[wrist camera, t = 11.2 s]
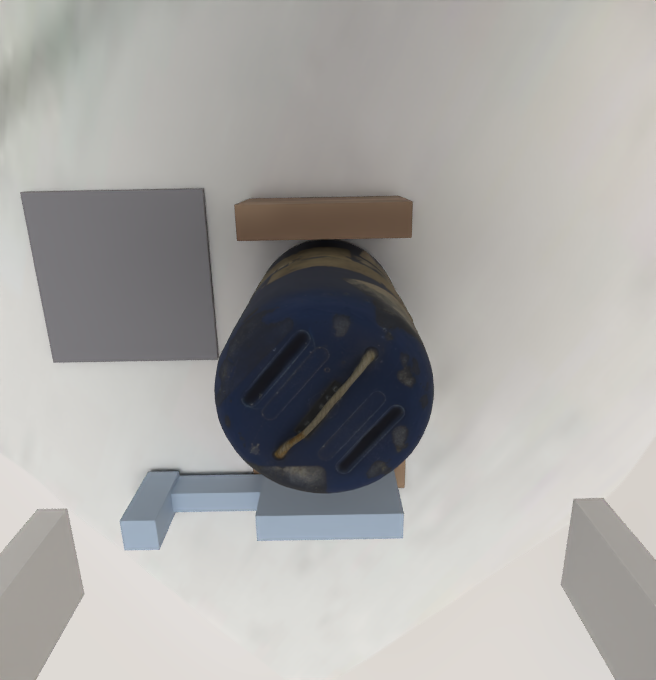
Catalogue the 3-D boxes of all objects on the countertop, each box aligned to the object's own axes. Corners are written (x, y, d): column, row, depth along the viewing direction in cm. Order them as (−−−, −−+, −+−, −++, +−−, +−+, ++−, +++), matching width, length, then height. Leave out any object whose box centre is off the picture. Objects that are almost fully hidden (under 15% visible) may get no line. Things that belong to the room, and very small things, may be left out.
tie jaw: (147, 469, 41) (119, 518, 35) (393, 465, 41) (403, 513, 35) (152, 497, 42) (124, 550, 36) (392, 493, 42) (402, 545, 36)
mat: (23, 191, 35) (20, 192, 34) (203, 188, 35) (202, 188, 34) (56, 360, 39) (53, 362, 38) (218, 357, 39) (217, 359, 38)
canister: (418, 317, 38) (494, 442, 21) (312, 388, 39) (302, 559, 22) (340, 206, 35) (354, 245, 18) (231, 288, 37) (151, 393, 20)
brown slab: (234, 198, 35) (216, 205, 29) (413, 195, 35) (430, 201, 29) (255, 488, 42) (244, 539, 36) (404, 486, 42) (416, 536, 36)
